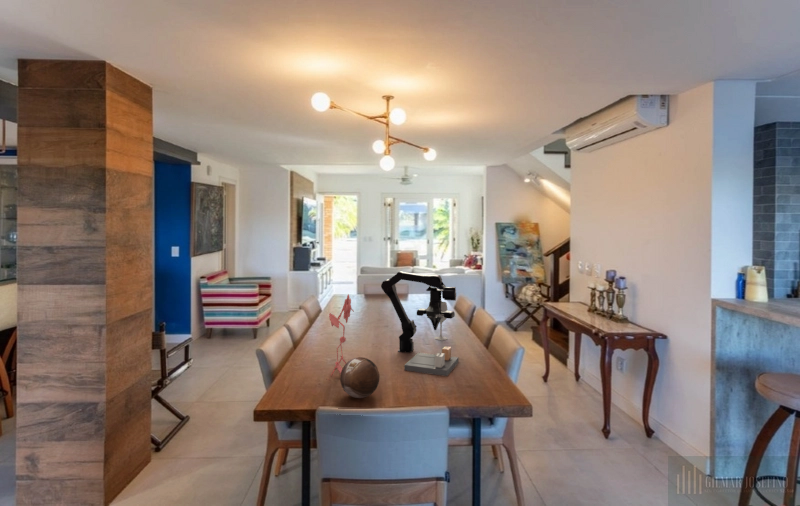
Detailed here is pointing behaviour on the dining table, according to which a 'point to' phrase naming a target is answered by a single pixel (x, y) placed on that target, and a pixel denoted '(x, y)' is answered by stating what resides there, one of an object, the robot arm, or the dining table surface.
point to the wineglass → (444, 309)
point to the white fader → (439, 360)
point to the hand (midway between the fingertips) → (435, 329)
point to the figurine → (336, 322)
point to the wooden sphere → (359, 377)
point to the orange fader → (447, 352)
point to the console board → (430, 364)
